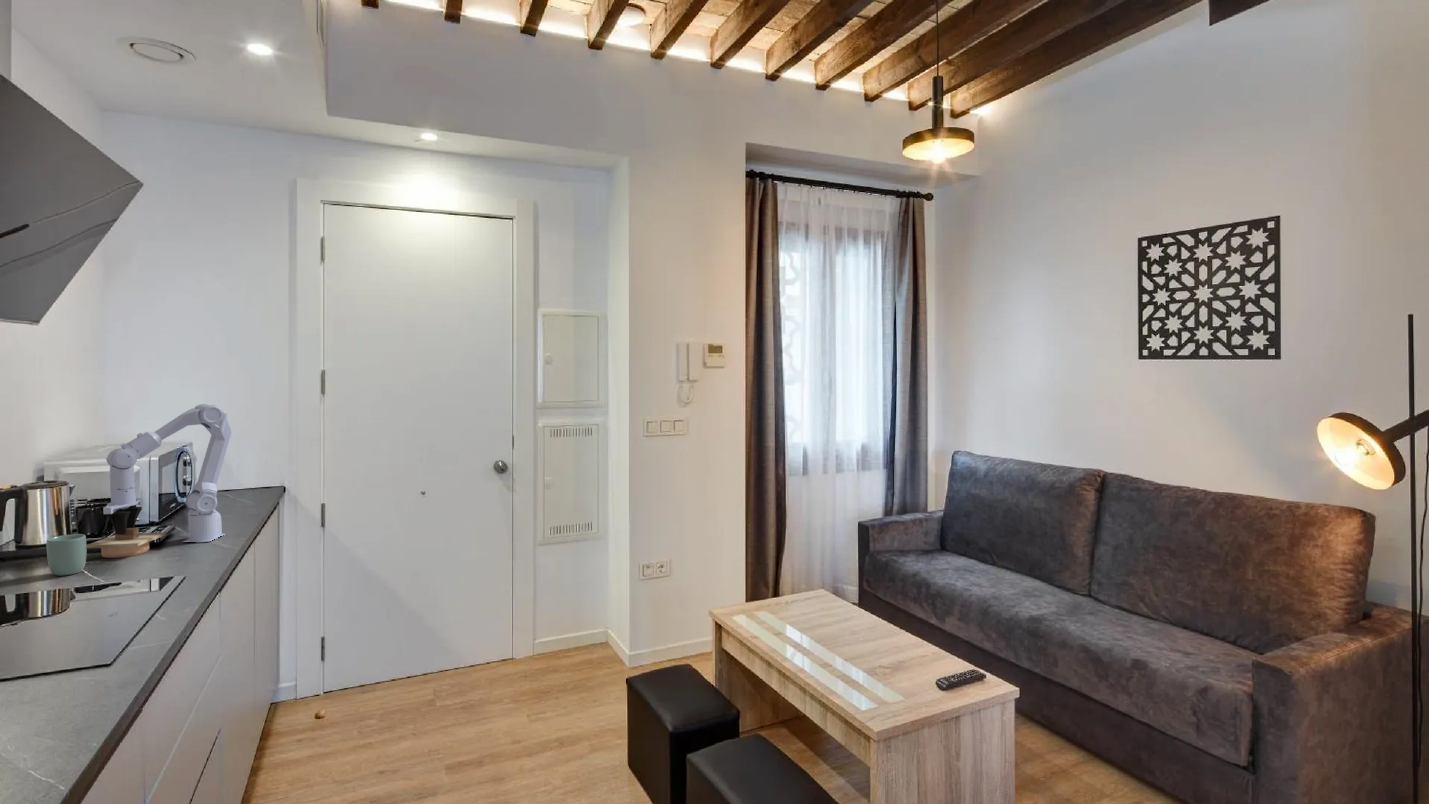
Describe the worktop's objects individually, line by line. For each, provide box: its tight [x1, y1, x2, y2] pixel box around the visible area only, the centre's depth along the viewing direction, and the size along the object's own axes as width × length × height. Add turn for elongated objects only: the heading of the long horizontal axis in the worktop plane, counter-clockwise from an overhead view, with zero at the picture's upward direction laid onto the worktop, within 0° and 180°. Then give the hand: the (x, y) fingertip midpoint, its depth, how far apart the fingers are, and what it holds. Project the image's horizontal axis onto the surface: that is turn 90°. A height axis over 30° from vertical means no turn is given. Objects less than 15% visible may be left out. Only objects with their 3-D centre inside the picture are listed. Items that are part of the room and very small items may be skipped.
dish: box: [100, 541, 150, 559], centre depth 208 cm, size 11×11×4 cm
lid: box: [86, 527, 167, 549], centre depth 208 cm, size 14×14×4 cm
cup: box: [46, 533, 88, 577], centre depth 187 cm, size 8×8×10 cm
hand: (125, 532), depth 208 cm, fingers open, 3 cm apart
